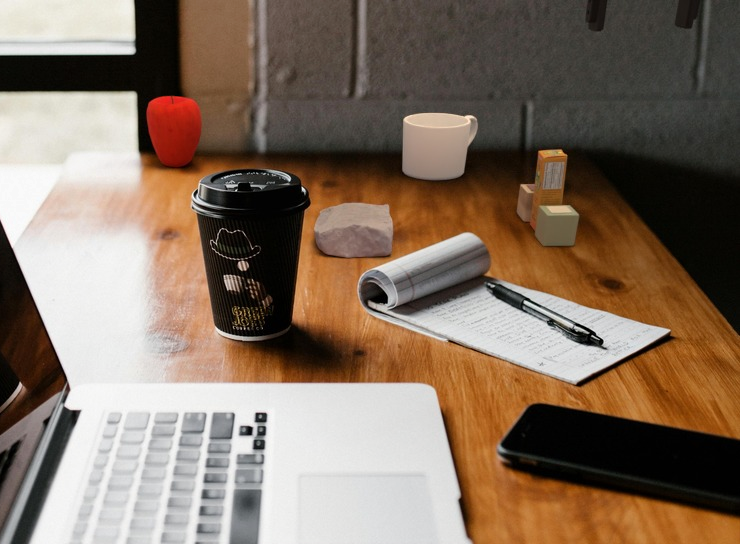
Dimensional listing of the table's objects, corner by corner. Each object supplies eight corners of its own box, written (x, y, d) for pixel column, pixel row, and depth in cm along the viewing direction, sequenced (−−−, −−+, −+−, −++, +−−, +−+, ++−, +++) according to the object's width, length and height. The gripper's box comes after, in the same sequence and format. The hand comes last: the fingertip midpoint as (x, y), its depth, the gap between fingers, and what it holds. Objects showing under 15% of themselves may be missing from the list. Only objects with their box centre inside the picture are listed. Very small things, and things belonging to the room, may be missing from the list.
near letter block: (564, 235, 112) (570, 204, 110) (574, 245, 109) (579, 214, 107) (534, 235, 112) (539, 204, 110) (542, 246, 109) (547, 214, 107)
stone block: (319, 271, 107) (399, 255, 105) (312, 233, 104) (393, 217, 103) (318, 241, 117) (391, 227, 116) (311, 207, 115) (386, 192, 113)
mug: (426, 184, 132) (431, 130, 128) (387, 169, 140) (389, 117, 136) (493, 172, 138) (499, 120, 134) (451, 158, 146) (456, 108, 142)
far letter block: (544, 212, 121) (549, 183, 118) (552, 221, 117) (557, 191, 115) (516, 212, 120) (520, 183, 118) (523, 221, 117) (527, 192, 115)
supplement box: (526, 224, 116) (537, 149, 111) (552, 224, 116) (564, 148, 111) (532, 232, 113) (543, 155, 108) (559, 232, 113) (571, 155, 108)
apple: (214, 162, 144) (211, 95, 139) (177, 174, 138) (172, 103, 133) (176, 154, 149) (171, 88, 143) (139, 165, 143) (133, 97, 137)
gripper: (595, -159, 83) (570, 35, 91) (774, -165, 83) (733, 30, 91) (571, -153, 89) (551, 27, 98) (738, -158, 89) (702, 23, 98)
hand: (639, 28), depth 95 cm, fingers open, 9 cm apart
